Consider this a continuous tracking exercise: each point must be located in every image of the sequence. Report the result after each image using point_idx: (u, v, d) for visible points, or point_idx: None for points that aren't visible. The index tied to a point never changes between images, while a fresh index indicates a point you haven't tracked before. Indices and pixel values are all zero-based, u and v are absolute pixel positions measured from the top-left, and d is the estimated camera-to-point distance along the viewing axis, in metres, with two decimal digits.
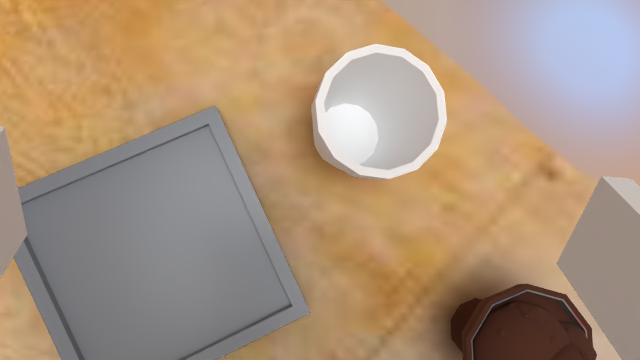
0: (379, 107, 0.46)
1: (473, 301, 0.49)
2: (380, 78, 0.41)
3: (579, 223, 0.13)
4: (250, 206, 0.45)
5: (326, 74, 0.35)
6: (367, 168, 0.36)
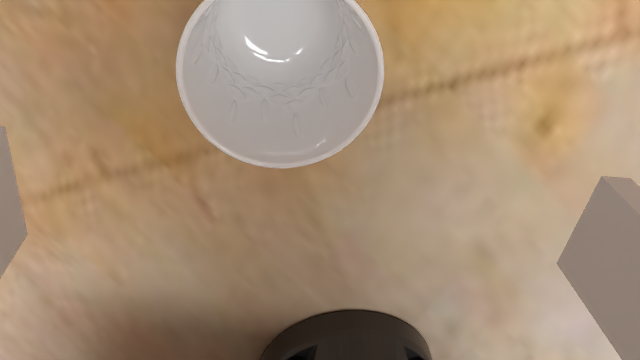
0: None
1: None
2: None
3: (579, 223, 0.13)
4: None
5: None
6: None
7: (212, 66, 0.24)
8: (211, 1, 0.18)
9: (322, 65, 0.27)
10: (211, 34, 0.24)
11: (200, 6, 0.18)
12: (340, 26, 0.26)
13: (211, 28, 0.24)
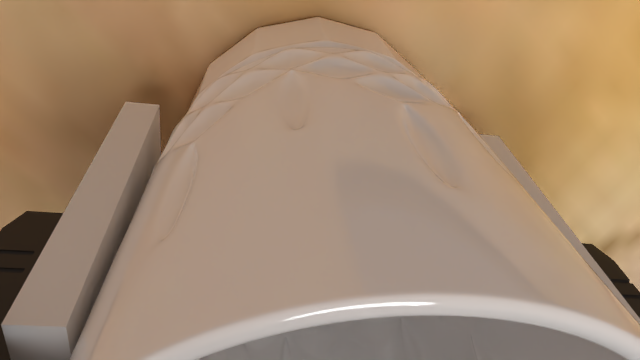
0: None
1: None
2: None
3: None
4: None
5: None
6: None
7: None
8: None
9: None
10: None
11: None
12: None
13: None
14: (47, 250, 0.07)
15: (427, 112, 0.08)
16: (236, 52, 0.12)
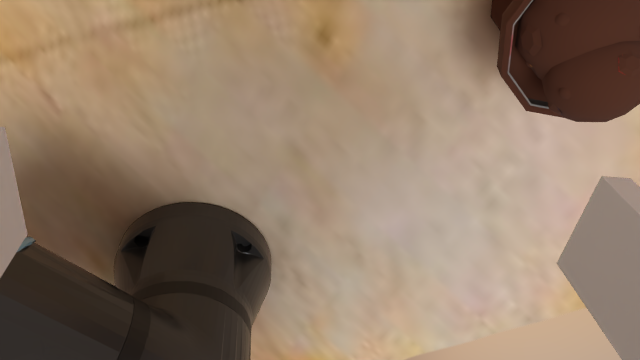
0: None
1: None
2: None
3: (579, 223, 0.13)
4: None
5: None
6: None
7: None
8: None
9: None
10: None
11: None
12: None
13: None
14: None
15: None
16: None
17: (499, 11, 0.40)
